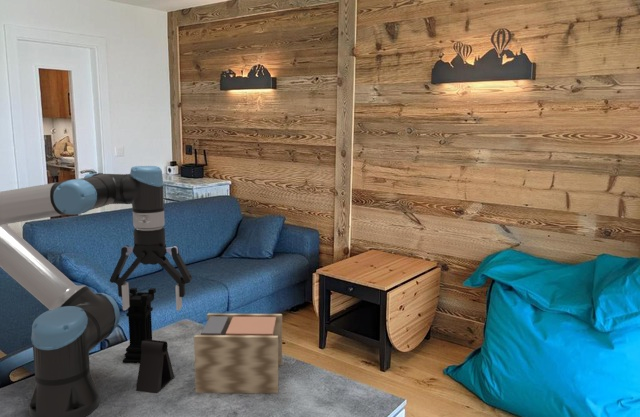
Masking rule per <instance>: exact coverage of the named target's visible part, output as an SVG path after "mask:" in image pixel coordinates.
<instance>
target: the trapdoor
mask: <svg viewBox="0 0 640 417" xmlns="http://www.w3.org/2000/svg"><path fill="white" fill-rule="evenodd" d="M275 324H276V317H233V318H232V320H231V322H230V325H229V319H228V317H226V316H210V318H209V320H208V322H207V321H206V324H205V325H204V327H203V328H202V330H201V332H200V335H253V336H273V333H274V328H275Z"/></svg>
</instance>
